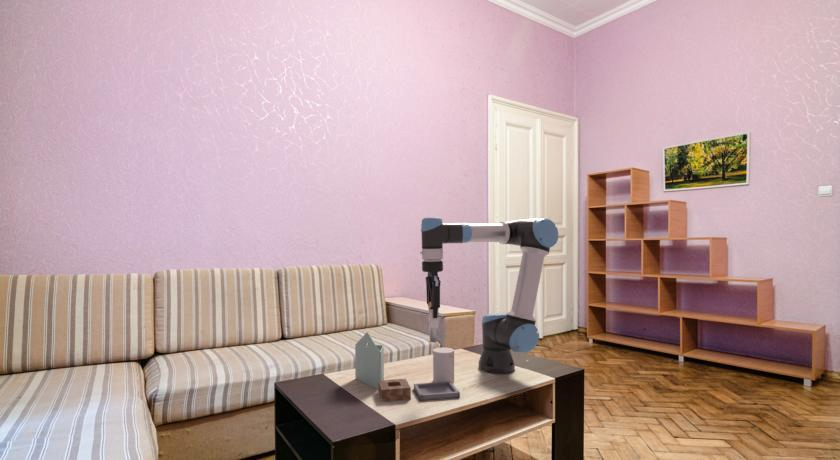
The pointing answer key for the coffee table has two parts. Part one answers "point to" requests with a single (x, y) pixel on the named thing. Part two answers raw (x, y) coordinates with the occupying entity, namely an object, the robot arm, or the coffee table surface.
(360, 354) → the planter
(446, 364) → the white cylinder
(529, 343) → the robot arm
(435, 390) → the tray
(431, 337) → the pin
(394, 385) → the block
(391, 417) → the coffee table surface
